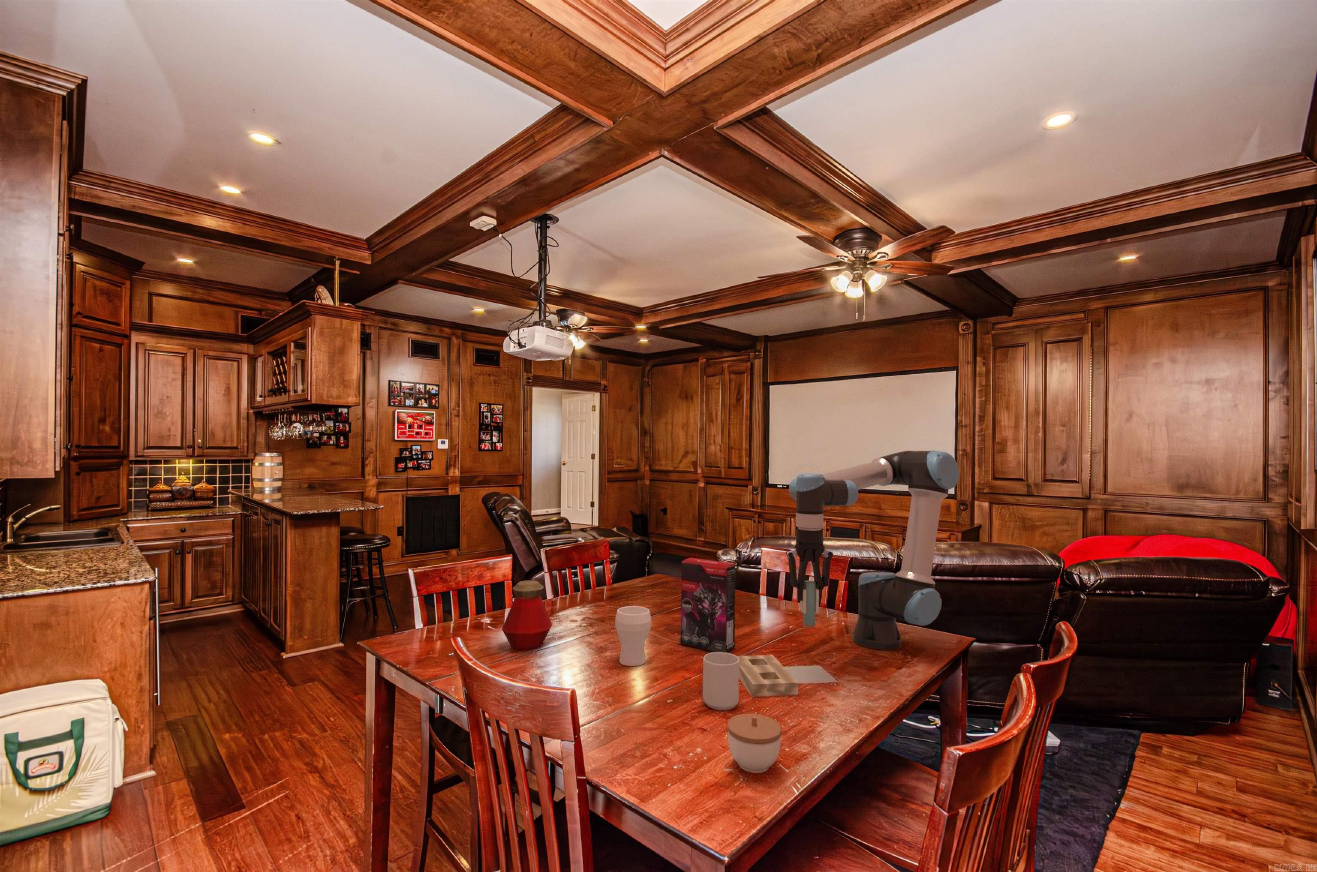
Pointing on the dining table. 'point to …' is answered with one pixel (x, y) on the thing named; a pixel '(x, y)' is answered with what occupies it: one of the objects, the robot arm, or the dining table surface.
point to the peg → (809, 603)
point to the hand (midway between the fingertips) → (809, 611)
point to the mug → (721, 680)
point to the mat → (810, 674)
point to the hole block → (766, 676)
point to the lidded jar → (754, 741)
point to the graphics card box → (708, 605)
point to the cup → (632, 633)
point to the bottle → (527, 617)
